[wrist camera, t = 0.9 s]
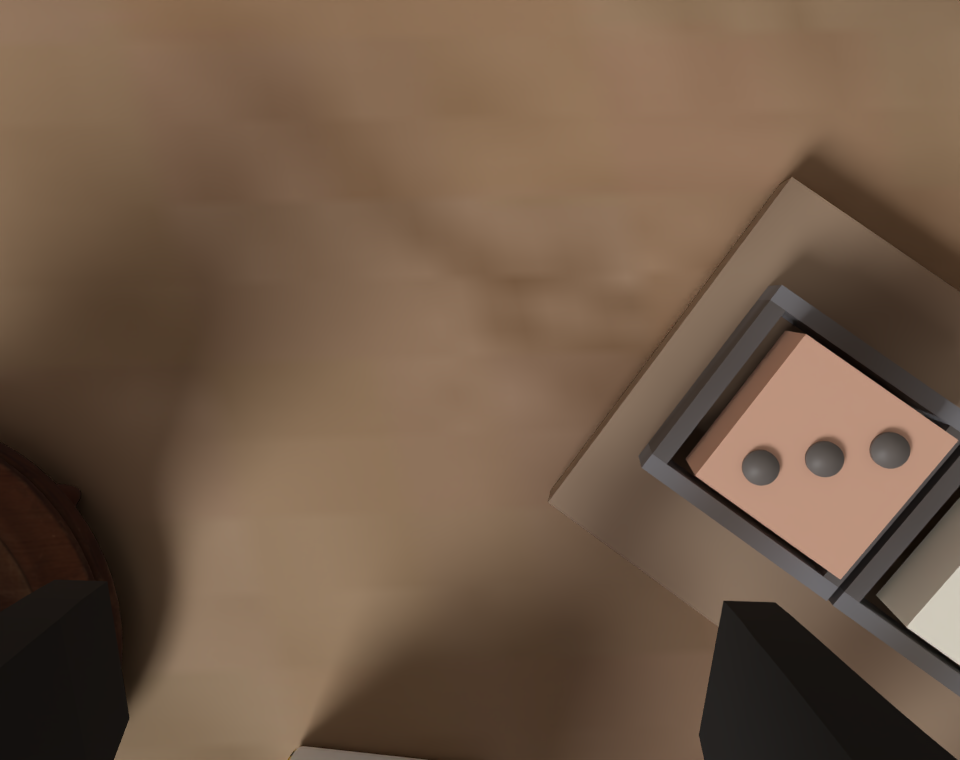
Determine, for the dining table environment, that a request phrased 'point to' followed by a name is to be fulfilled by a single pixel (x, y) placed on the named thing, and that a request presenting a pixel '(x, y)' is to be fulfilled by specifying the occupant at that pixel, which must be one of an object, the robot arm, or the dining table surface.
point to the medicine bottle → (338, 755)
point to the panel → (711, 386)
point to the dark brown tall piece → (44, 535)
